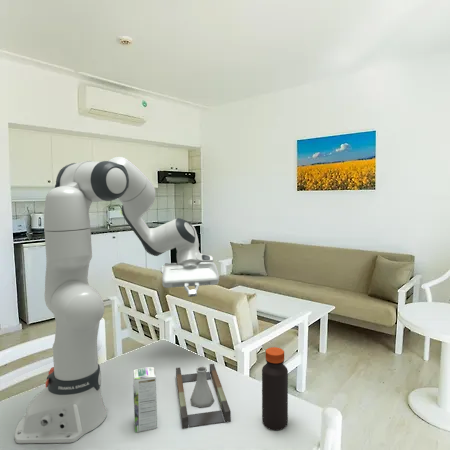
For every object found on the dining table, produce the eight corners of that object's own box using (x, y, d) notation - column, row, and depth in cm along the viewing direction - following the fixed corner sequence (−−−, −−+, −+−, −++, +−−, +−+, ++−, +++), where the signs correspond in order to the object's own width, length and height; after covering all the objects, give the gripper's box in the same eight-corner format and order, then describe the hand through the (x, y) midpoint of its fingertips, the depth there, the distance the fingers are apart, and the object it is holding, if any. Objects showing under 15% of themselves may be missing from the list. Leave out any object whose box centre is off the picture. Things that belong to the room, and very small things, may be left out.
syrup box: (134, 419, 97) (131, 369, 96) (155, 415, 99) (154, 365, 97) (135, 433, 92) (133, 379, 90) (158, 428, 93) (156, 376, 92)
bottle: (293, 425, 94) (293, 353, 92) (272, 434, 90) (272, 359, 89) (277, 411, 100) (277, 343, 98) (257, 419, 96) (256, 349, 94)
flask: (212, 408, 101) (211, 375, 101) (187, 407, 102) (186, 374, 101) (215, 394, 109) (215, 363, 108) (192, 393, 109) (192, 362, 109)
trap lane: (182, 428, 93) (182, 417, 93) (176, 376, 120) (175, 367, 119) (230, 421, 96) (230, 411, 95) (213, 372, 122) (213, 363, 122)
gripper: (160, 258, 126) (161, 293, 118) (217, 256, 130) (222, 289, 121) (160, 268, 131) (162, 302, 122) (215, 265, 135) (220, 298, 126)
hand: (192, 295), depth 122 cm, fingers closed
